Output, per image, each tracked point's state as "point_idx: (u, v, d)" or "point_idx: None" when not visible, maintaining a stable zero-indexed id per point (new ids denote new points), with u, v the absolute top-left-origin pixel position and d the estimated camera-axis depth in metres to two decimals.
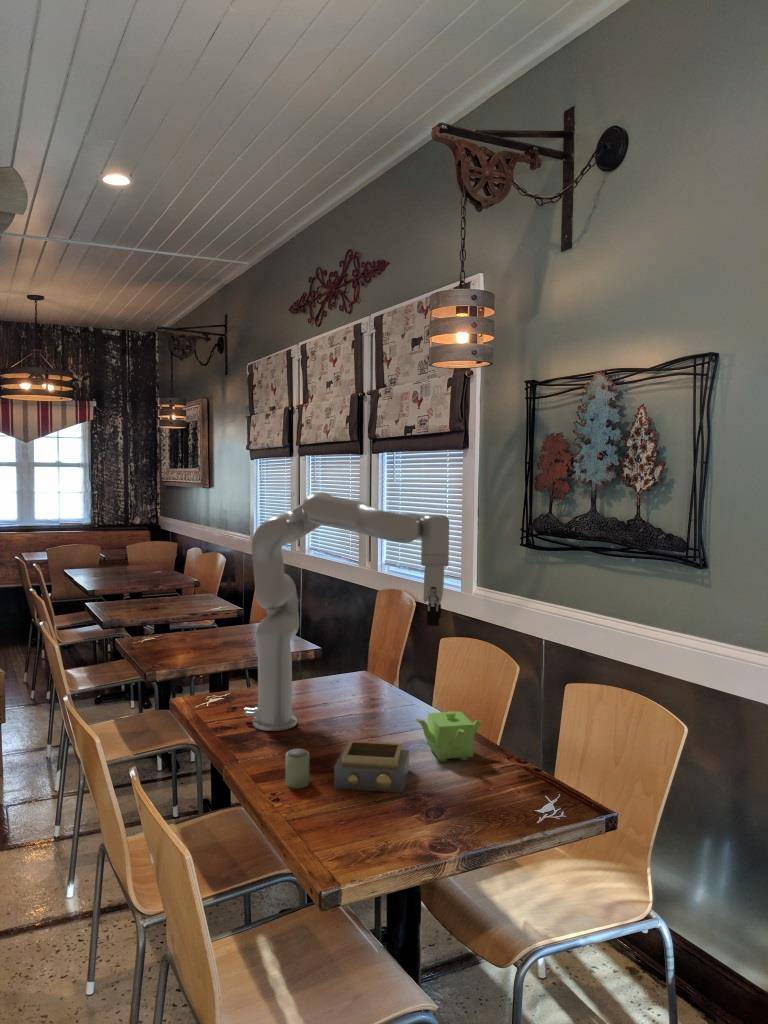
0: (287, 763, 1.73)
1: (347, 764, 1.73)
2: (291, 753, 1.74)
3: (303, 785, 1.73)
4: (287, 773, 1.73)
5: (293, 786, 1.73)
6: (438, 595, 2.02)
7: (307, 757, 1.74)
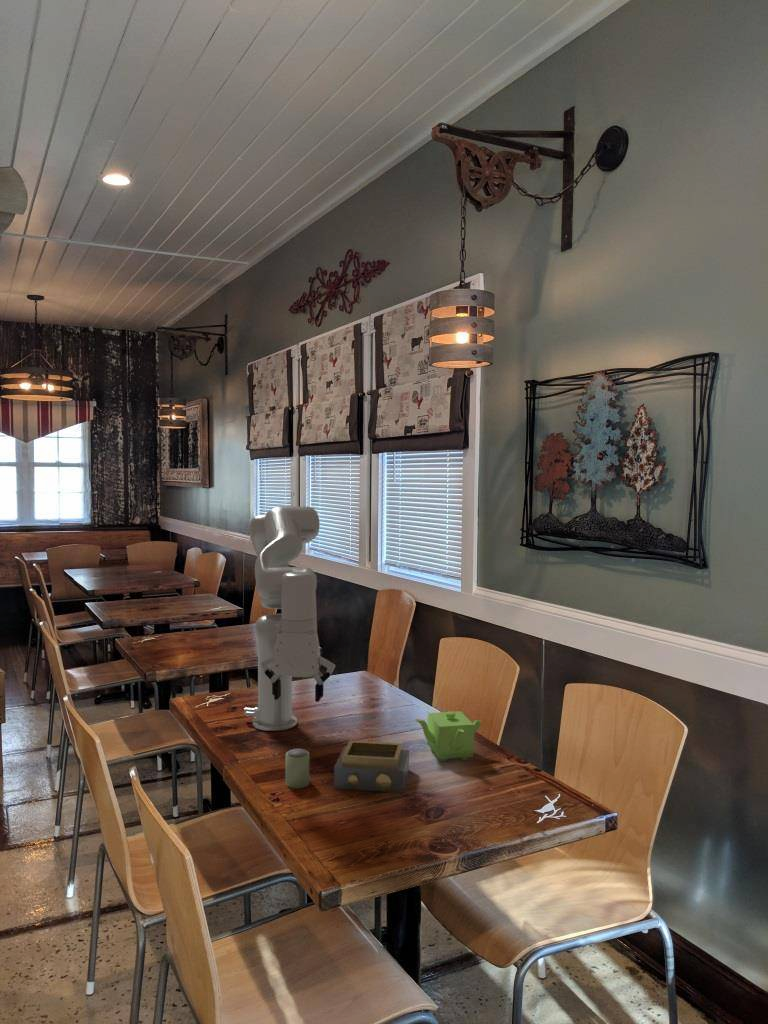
0: (287, 763, 1.73)
1: (347, 764, 1.73)
2: (291, 753, 1.74)
3: (303, 785, 1.73)
4: (287, 773, 1.73)
5: (293, 786, 1.73)
6: None
7: (307, 757, 1.74)
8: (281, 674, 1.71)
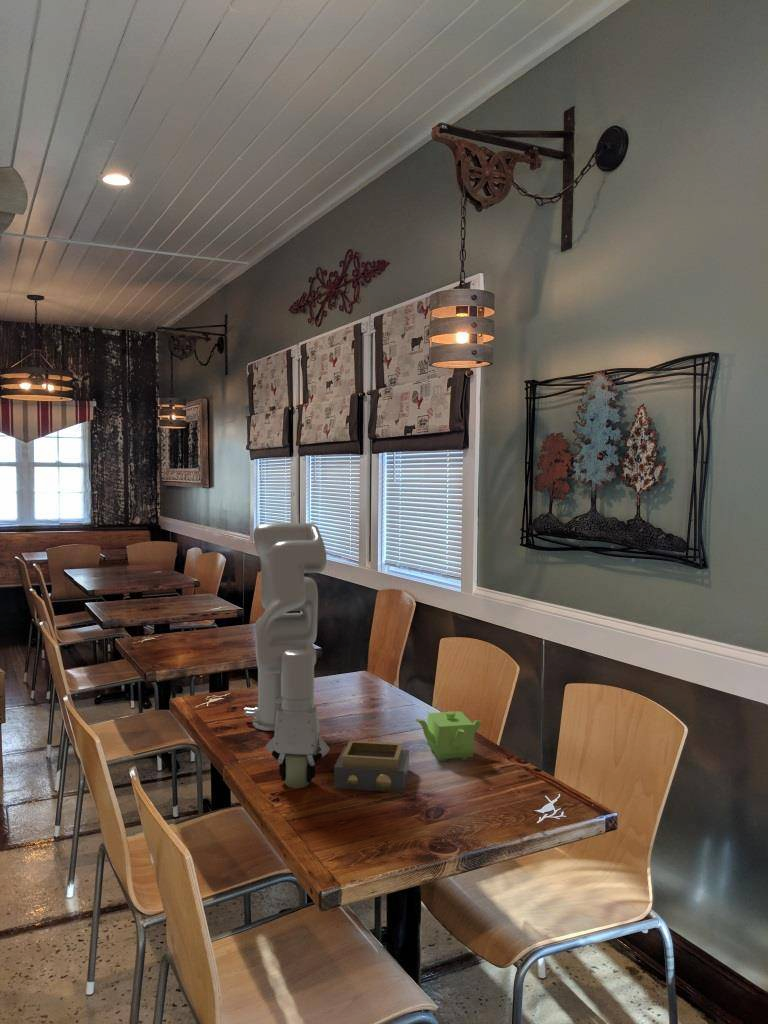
0: (287, 763, 1.73)
1: (347, 764, 1.73)
2: None
3: (303, 785, 1.73)
4: (287, 773, 1.73)
5: (293, 786, 1.73)
6: None
7: None
8: (281, 752, 1.72)
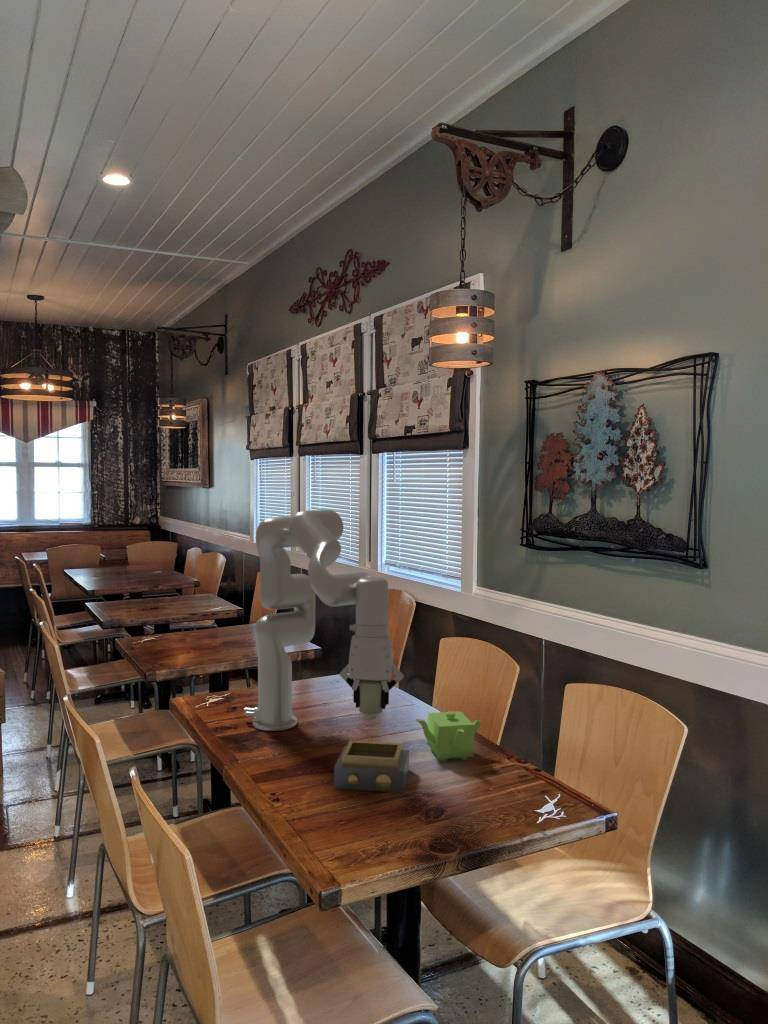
0: (362, 689, 1.75)
1: (347, 764, 1.73)
2: (365, 680, 1.75)
3: (377, 711, 1.75)
4: (362, 699, 1.75)
5: (367, 712, 1.74)
6: (391, 671, 1.77)
7: (381, 684, 1.75)
8: (356, 678, 1.74)
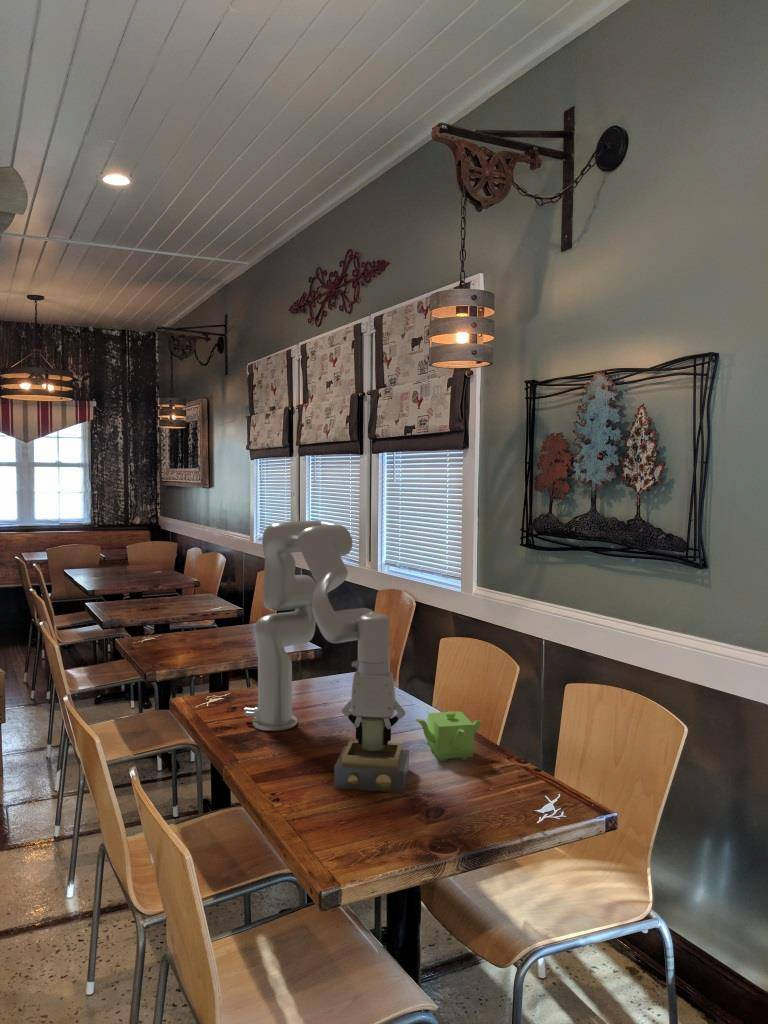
0: (364, 726, 1.75)
1: (347, 764, 1.73)
2: (367, 717, 1.76)
3: (380, 748, 1.75)
4: (364, 736, 1.75)
5: (370, 749, 1.75)
6: None
7: (383, 720, 1.76)
8: (358, 715, 1.75)
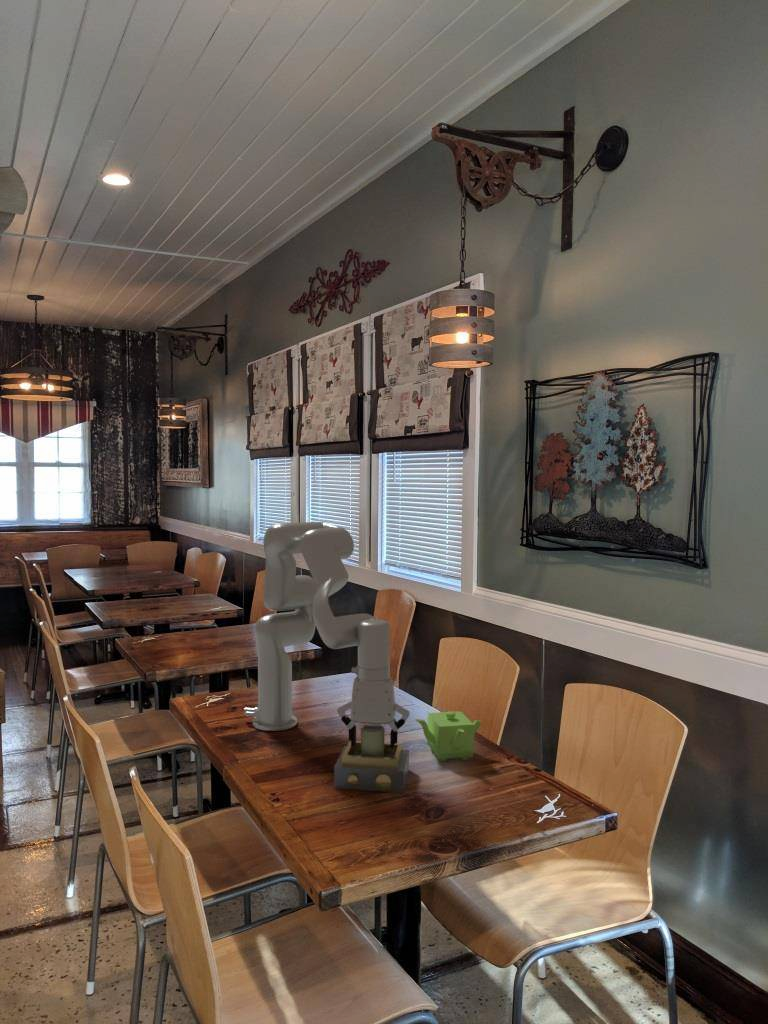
0: (363, 737, 1.76)
1: (347, 764, 1.73)
2: (367, 727, 1.76)
3: None
4: (363, 747, 1.76)
5: None
6: None
7: (383, 731, 1.76)
8: (358, 721, 1.75)
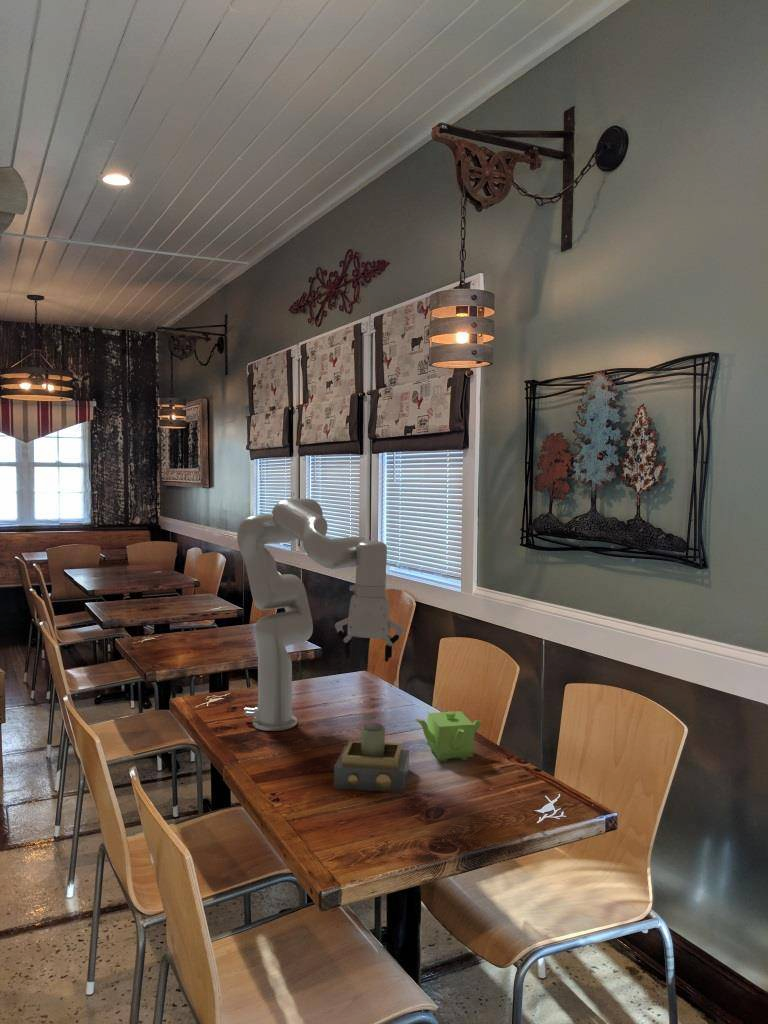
0: (363, 737, 1.76)
1: (347, 764, 1.73)
2: (367, 727, 1.76)
3: None
4: (363, 747, 1.76)
5: None
6: (389, 626, 1.88)
7: (383, 731, 1.76)
8: (354, 635, 1.85)
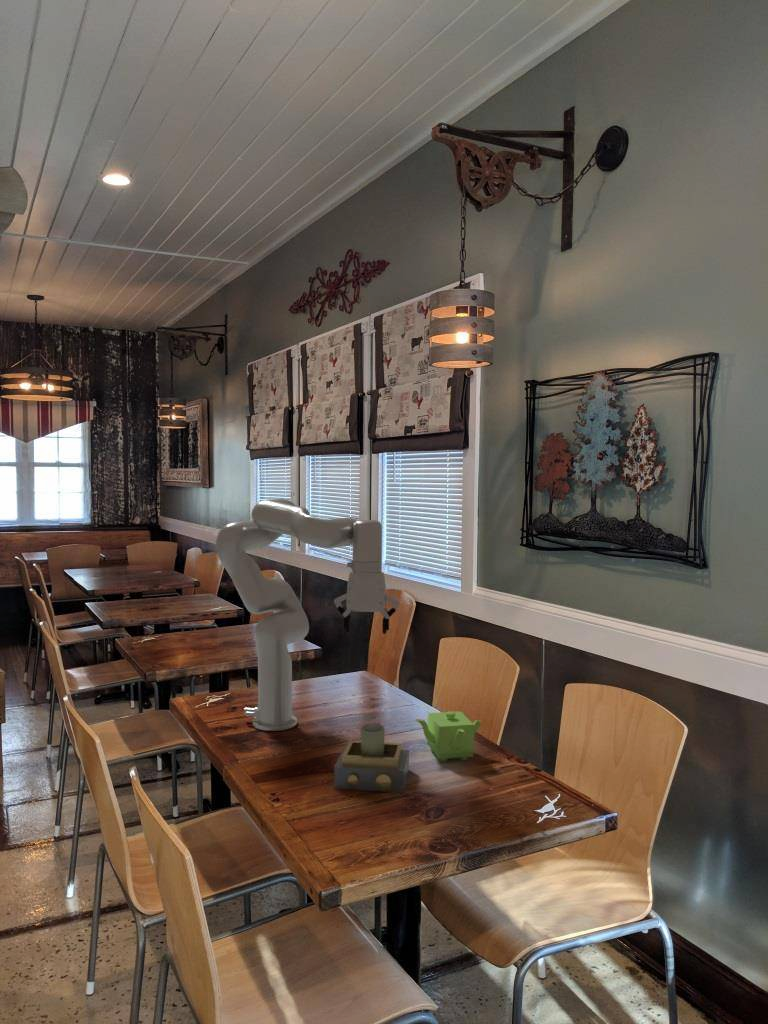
0: (363, 737, 1.76)
1: (347, 764, 1.73)
2: (367, 727, 1.76)
3: None
4: (363, 747, 1.76)
5: None
6: None
7: (382, 732, 1.76)
8: (353, 609, 1.95)
